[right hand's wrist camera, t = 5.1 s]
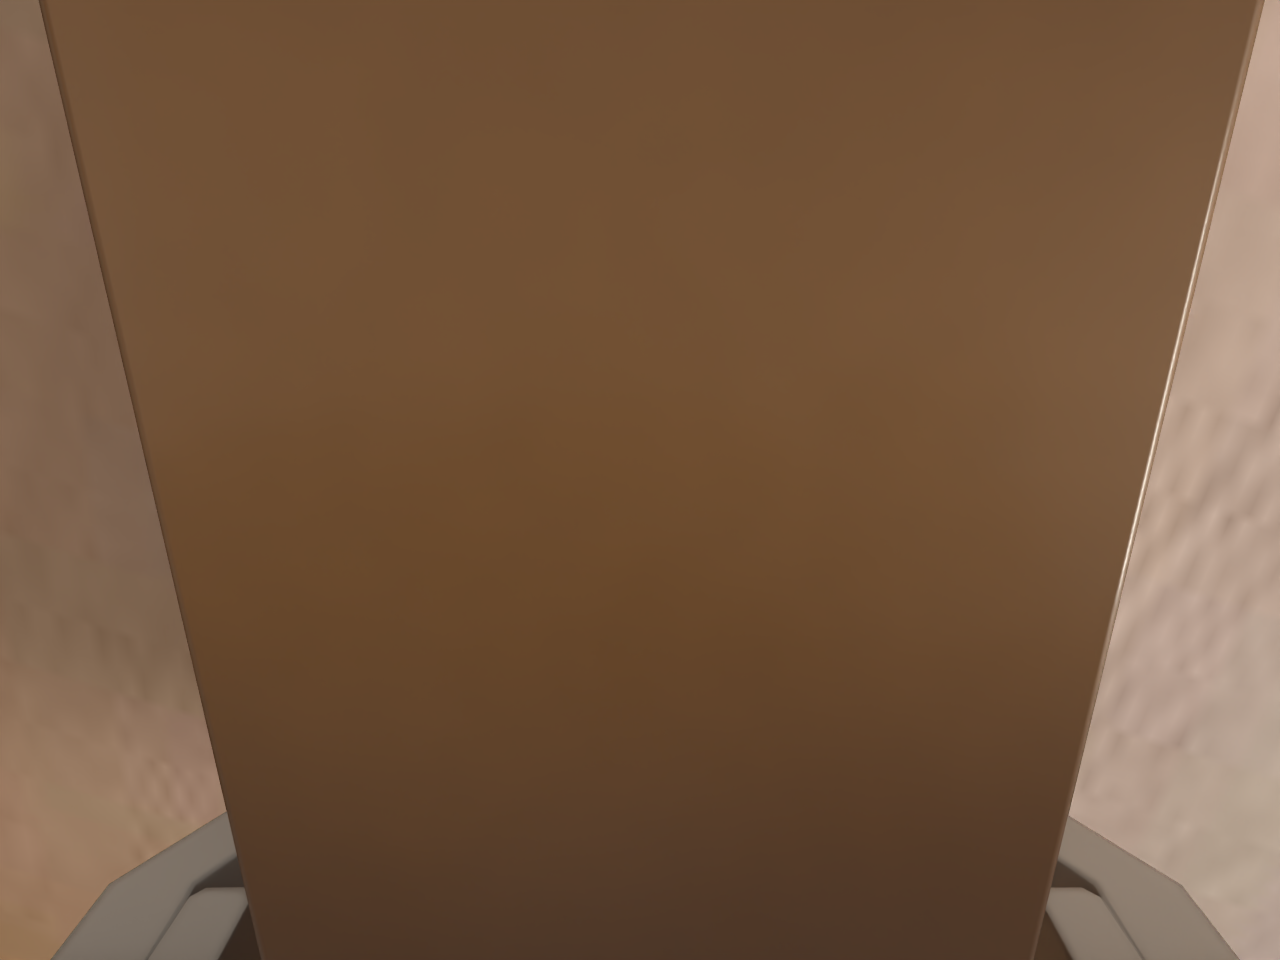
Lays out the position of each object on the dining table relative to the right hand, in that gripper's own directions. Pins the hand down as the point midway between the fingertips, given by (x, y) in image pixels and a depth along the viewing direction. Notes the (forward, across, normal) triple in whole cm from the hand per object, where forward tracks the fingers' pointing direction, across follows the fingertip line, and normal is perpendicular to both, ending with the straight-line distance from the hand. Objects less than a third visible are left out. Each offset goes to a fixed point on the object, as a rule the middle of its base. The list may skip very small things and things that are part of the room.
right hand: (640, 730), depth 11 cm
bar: (+4, 0, -10) cm, 10 cm away
